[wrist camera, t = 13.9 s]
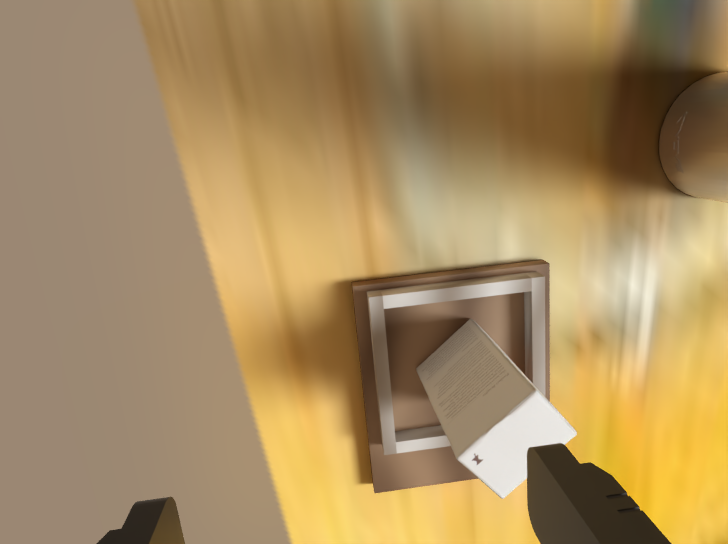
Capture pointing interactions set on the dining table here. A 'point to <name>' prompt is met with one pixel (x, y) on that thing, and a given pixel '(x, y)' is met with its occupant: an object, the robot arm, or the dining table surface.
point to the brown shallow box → (422, 338)
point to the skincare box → (489, 408)
